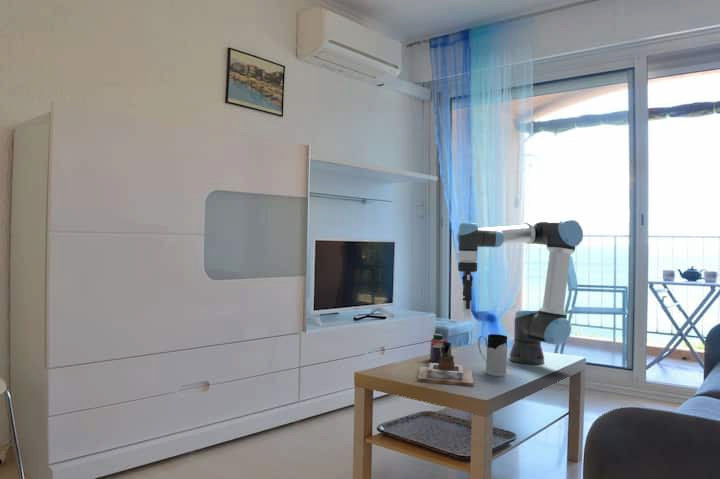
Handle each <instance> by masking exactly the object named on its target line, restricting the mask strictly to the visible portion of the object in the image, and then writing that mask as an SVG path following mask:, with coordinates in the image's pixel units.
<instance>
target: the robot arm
mask: <svg viewBox="0 0 720 479" xmlns="http://www.w3.org/2000/svg"><path fill="white" fill-rule="evenodd" d="M583 238H584V232H583V229H582V226H581V225H580V223H579V222H578V221H577V220H575V219H573V218H555V219H550V218H547V219H542V220H537V221H532V222H531V221H530V222H525V223H523V224H521V225H510V226H509V225H507V226H506V225H505V226H492V227H491V226H490V227H479V224H478V223H476V222H461V223H460V224H459V226H458V233H457V235H456V240H457V243H458V252H457V253H456V256H458V263H457V271H458V272H463V275H462V276H461V280H462V286H463V287H462V313H463V318H469V319H470V318H472V299H473V297H472V290H473V289H472V287H473V280H474V277H473V275H472V274H471V273H476V272H478V257H479V256H478V254H479V252H478V249H479V248H499V247H501V246H502V245H503V244H504V245H505V244H514V243H516V244H517V243H524V244H526V245H531V244H534V245H535V244H536V245H544V246H546V249H547V250H548V252H549V256H548V263H547V270H546V276H545V277H546V280H545V285H544V286H545V287H544V293H543V301H542V307H540V308H539V309H538V310H537V309H536V310H534V309H533V310H531V309H530V310H526V309H525V310H524V309H523V310H521V309H519V310H516V311H515V315H514V316H515V317H514V329H513V330H514V333H513V334H514V336H513V343H512V345H511V346H512V347H511V349H510V352H509V358H508V360H510V361H512V362H515V363H519V364H526V365H541V364H544V363H545V356H544V352H543V349H542V342H543V343H546V344H549V345H555V346H556V345H557V346H558V345H562V344H564V343H565V342H566V341H567V340H568V339H569V338H570V336H571V332H572V324H570V321H569V320H568V319H567V317H568V316H567V312H566V311H565V310H564V308H565V301H566V293H567V286H568V278H569V269H570V262H571V256H572V254H573V253H575V251H576V247H578V246H579V245H580V243H582V242H583Z"/></svg>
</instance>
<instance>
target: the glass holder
mask: <svg viewBox="0 0 720 479" xmlns="http://www.w3.org/2000/svg"><path fill="white" fill-rule="evenodd" d="M482 337H483V338H484V340H485V346H486V357H485V356H484V354H483V352H482V349H481V346H480V345H481V344H480V340H481V338H482ZM477 346H478V350H479V354H480V355H481V357H482V359H483V360H484V361H485V370H484V373H485V374H487V375H489V376H497V377H506V376H507V375H508V373H507V363H508V362H507V358H508V357H507V356H508V336H506V335H503V334H495V333H493V334H488V335H487V337H486V336H485V335H480V336H479V337H478V340H477Z"/></svg>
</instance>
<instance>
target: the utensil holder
mask: <svg viewBox="0 0 720 479" xmlns="http://www.w3.org/2000/svg"><path fill="white" fill-rule="evenodd" d="M439 347H440V343H439ZM449 350H450V349H449ZM440 351H441V347H440ZM451 351H453V354H455V352H456V347H455V346H453V348H451ZM448 352H449V351H448ZM449 354H450V353H448V355H442V352H441V355H440V360H439V367H438V370H446V371H454V365H455V361H454V359H455V358H454V357H455V356H454V355H453V354H451V355H449Z"/></svg>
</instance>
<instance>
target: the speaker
mask: <svg viewBox="0 0 720 479" xmlns="http://www.w3.org/2000/svg"><path fill="white" fill-rule="evenodd" d="M440 347H441V351H440ZM440 347H439V344H435V345H433V346H432V352H433V360H432V361H433V362H432V363H437V364H439V360H440V355H441V352H442V355H448V353H450V354H449V355H452V350H451V349H452V345H451V342H449V341H446V340H444V339H443V344H440ZM449 349H450V350H449ZM448 351H449V352H448Z"/></svg>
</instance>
